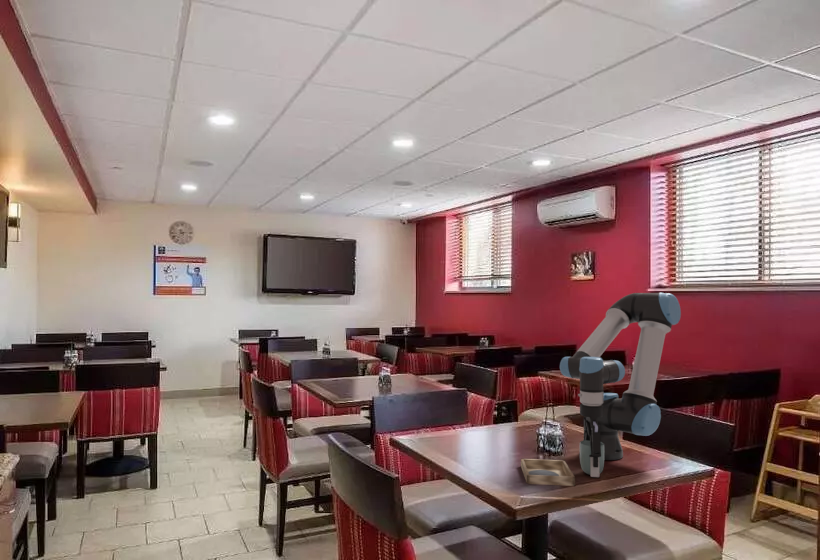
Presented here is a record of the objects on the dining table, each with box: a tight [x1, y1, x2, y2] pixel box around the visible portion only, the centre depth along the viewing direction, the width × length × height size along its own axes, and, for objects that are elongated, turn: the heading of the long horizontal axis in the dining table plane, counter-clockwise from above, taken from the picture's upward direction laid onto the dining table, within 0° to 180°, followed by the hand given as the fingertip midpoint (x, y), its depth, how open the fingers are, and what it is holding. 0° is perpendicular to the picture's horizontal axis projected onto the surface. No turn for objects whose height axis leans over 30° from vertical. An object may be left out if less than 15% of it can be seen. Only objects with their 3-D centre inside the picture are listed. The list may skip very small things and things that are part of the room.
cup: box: [579, 439, 605, 475], centre depth 191 cm, size 8×8×10 cm
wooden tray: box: [520, 458, 576, 487], centre depth 189 cm, size 15×19×3 cm
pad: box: [528, 470, 559, 476], centre depth 189 cm, size 10×10×1 cm
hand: (592, 472), depth 191 cm, fingers closed on cup, 8 cm apart
